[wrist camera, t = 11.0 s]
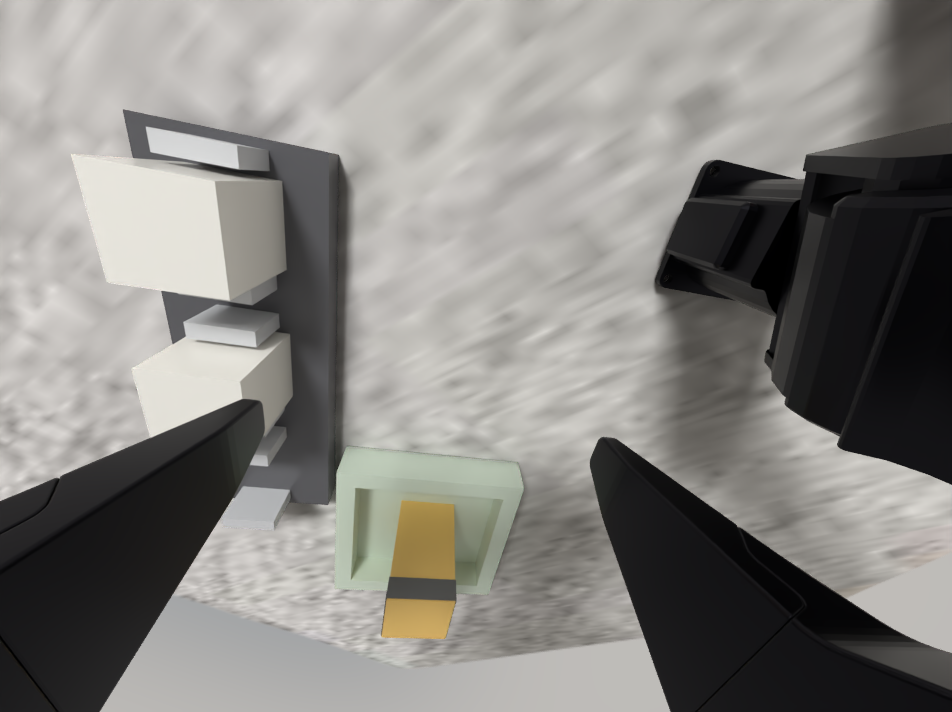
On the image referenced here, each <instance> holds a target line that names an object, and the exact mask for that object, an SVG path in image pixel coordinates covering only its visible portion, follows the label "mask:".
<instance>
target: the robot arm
mask: <svg viewBox="0 0 952 712" xmlns="http://www.w3.org/2000/svg"><path fill="white" fill-rule="evenodd" d="M712 167H714V169H715V170H714V173H713V175H712V176H710V170H711V168H712ZM803 171H806V176H805V179H795V178H791V177H787V176H783V175H778V174H774V173H770V172H766V171H762V170H758V169H754V168H750V167H746V166H742V165H738V164H733V163H729V162H725V161H721V160H712V161H708V162H706V163H705V164H704V165H703V167H702V168H701V170H700V173H699V175H698V177H697V180H696V182H695V185H694V187H693V189H692V192H691V194H690V197H689V199H688V201H686V203H685V205H684V207H683V210H682V212H681V214H680V217H679V219H678V222H677V224H676V227H675V229H674V231H673V234H672V236H671V239H670V241H669V243H668V246H667V252H666V254H665V257H664V259H663V262H662V264H661V266H660V269H659V271H658V274H657V276H656V283H657V284H658V285H660V286H662V287H664V288H669V289H675V290H680V291H686V292H691V293H697V294H702V295H708V296H713V297H719V298H724V299H730V300H735V301H738V302H741V303H743V304H746V305H748V306H750V307H753V308H755V309H758V310H760V311H762V312H765V313H767V314H769V315H772V316H774V317H776V320H775V325H774V330H773V334H772V339H771V344H770V349H769V350H767V351H766V354H765V359H764V362H765V363H766V364H767V366H768V367H769V368H770V369H771V372H772V381H773V383H774V384H775V385H776V387H777V388H778V389H779V391H780V392H781V393H782V395H784V396H785V397H786V398H785V405H786V406H787V407H788V408H789V409H790V410H792V411H793V412H795V413H796V414H798V415H799V416H801V417H802V418H804V419H806V420H807V421H809V422H811V423H813V424H815V425H817V426H819V427H821V428H823V429H825V430H827V431H829V432H832V433H834V434H836V435H838V436H840V438H839V440H838V443H837V445H838V447H839V448H840V449H842V450H845V451H849V452H853V453H857V454H862V455H866V456H870V457H874V458H879V459H883V460H887V461H890V462H893V463H896V464H899V465H902V466H905V467H908V468H910V469H913V470H916V471H919V472H922V473H925V474H928V475H930V476H933V477H935V478H937V479H940V480H942V481H944V482H947V483H949V484H951V485H952V123H950V124H943V125H937V126H932V127H927V128H923V129H918V130H914V131H909V132H905V133H900V134H896V135H891V136H887V137H882V138H878V139H874V140H869V141H865V142H860V143H856V144H851V145H847V146H842V147H838V148H833V149H829V150H825V151H820V152H816V153H811V154H807V155H806V158H805V163H804V168H803ZM667 275H669V278H668V279H667V281H665V282H664V278H665V276H667ZM264 432H265V421H264V411H263V404H262V402H261V401H259V400H252V399H241V400H238V401H236V402H233V403H231V404H229V405H226V406H224V407H222V408H219V409H217V410H215V411H212V412H210V413H208V414H205V415H203V416H201V417H198V418H196V419H193V420H191V421H189V422H186V423H184V424H182V425H179V426H177V427H175V428H172V429H170V430H168V431H165V432H163V433H161V434H158V435H156V436H153V437H151V438H149V439H146V440H144V441H142V442H139V443H137V444H135V445H132V446H130V447H128V448H125V449H123V450H121V451H118V452H116V453H113V454H111V455H109V456H106V457H104V458H102V459H99V460H97V461H95V462H92V463H90V464H88V465H85V466H83V467H80V468H78V469H76V470H73V471H71V472H69V473H66V474H64V475H62V476H61V477H60V479H59V478H54V479H52V480H50V481H47V482H45V483H43V484H40V485H38V486H36V487H33V488H31V489H29V490H26V491H24V492H21V493H19V494H17V495H14V496H12V497H9V498H7V499H4V500H2V501H0V712H100V710H101V709H102V707H103V705H104V704H105V702H106V701H107V699H108V697H109V696H110V694H111V693H112V691H113V689H114V688H115V686H116V684H117V683H118V681H119V680H120V678H121V677H122V675H123V673H124V672H125V670H126V668H127V667H128V665H129V664H130V662H131V660H132V659H133V657H134V656H135V654H136V652H137V651H138V649H139V648H140V646H141V644H142V643H143V641H144V639H145V638H146V636H147V635H148V633H149V632H150V630H151V628H152V627H153V625H154V624H155V622H156V620H157V619H158V617H159V616H160V614H161V612H162V611H163V609H164V608H165V606H166V604H167V603H168V601H169V599H170V598H171V596H172V595H173V593H174V592H175V590H176V588H177V587H178V585H179V583H180V582H181V580H182V579H183V577H184V575H185V574H186V572H187V571H188V569H189V567H190V566H191V564H192V563H193V561H194V559H195V558H196V556H197V555H198V553H199V551H200V550H201V548H202V547H203V545H204V543H205V542H206V540H207V539H208V537H209V535H210V534H211V532H212V531H213V529H214V527H215V526H216V524H217V523H218V521H219V519H220V518H221V516H222V515H223V513H224V511H225V510H226V508H227V507H228V505H229V503H230V502H231V500H232V498H233V497H234V495H235V493H236V492H237V490H238V488H239V486H240V484H241V482H242V480H243V478H244V476H245V474H246V471H247V469H248V467H249V465H250V463H251V461H252V459H253V457H254V455H255V453H256V451H257V448H258V446H259V444H260V442H261V440H262V438H263V436H264ZM590 469H591V473H592V477H593V481H594V486H595V490H596V494H597V498H598V502H599V506H600V510H601V514H602V518H603V521H604V524H605V527H606V530H607V532H608V535H609V538H610V541H611V544H612V547H613V550H614V552H615V555H616V558H617V561H618V564H619V567H620V569H621V572H622V575H623V578H624V581H625V584H626V586H627V589H628V592H629V595H630V598H631V601H632V604H633V606H634V609H635V612H636V615H637V618H638V621H639V623H640V626H641V629H642V632H643V635H644V638H645V640H646V643H647V646H648V649H649V652H650V655H651V657H652V660H653V663H654V666H655V669H656V672H657V675H658V677H659V680H660V683H661V686H662V689H663V692H664V694H665V697H666V700H667V703H668V706H669V709H670V711H671V712H952V653H950V652H946V651H943V650H940V649H937V648H934V647H931V646H929V645H926V644H923V643H921V642H918V641H916V640H914V639H912V638H910V637H908V636H905V635H904V634H902V633H900V632H898V631H896V630H894V629H892V628H891V627H889V626H887V625H886V624H884V623H883V622H881V621H879V620H878V619H876V618H875V617H873V616H872V615H870V614H869V613H867V612H865V611H864V610H862V609H861V608H859V607H858V606H856V605H854V604H853V603H852V602H850V601H848V600H847V599H845V598H844V597H842V596H841V595H839V594H838V593H836V592H835V591H833V590H832V589H830V588H829V587H827V586H826V585H824V584H822V583H821V582H819V581H818V580H816V579H815V578H813V577H812V576H810V575H809V574H807V573H806V572H804V571H803V570H801V569H800V568H798V567H797V566H795V565H794V564H792V563H791V562H789V561H788V560H786V559H785V558H783V557H782V556H780V555H779V554H777V553H776V552H774V551H773V550H771V549H770V548H769V547H767V546H766V545H764V544H763V543H761V542H760V541H759V540H757V539H756V538H754V537H753V536H751V535H750V534H749V533H747V532H746V531H745V530H743V529H742V528H740V527H737V525H736V524H735V523H733V522H732V521H730V520H729V519H728V518H726V517H725V516H723V515H722V514H721V513H719V512H718V511H716V510H715V509H714V508H712V507H711V506H709V505H708V504H707V503H705V502H704V501H702V500H701V499H700V498H698V497H697V496H695V495H694V494H693V493H691V492H690V491H688V490H687V489H686V488H684V487H683V486H681V485H680V484H679V483H677V482H676V481H674V480H673V479H672V478H670V477H669V476H667V475H666V474H665V473H663V472H662V471H660V470H659V469H658V468H656V467H655V466H653V465H652V464H651V463H649V462H648V461H646V460H645V459H644V458H642V457H641V456H639V455H638V454H637V453H635V452H634V451H632V450H631V449H630V448H628V447H627V446H625V445H624V444H623V443H621V442H620V441H618V440H617V439H615V438H608V437H601V438H600V439H599V440H598V442H597V444H596V447H595V449H594V451H593V454H592V456H591V459H590Z"/></svg>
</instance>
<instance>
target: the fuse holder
mask: <svg viewBox="0 0 952 712" xmlns="http://www.w3.org/2000/svg"><path fill="white" fill-rule="evenodd" d="M123 113H124V118H125V123H126V128H127V132H128V137H129V142H130V146H131V151H132V156H133V158H138V159H152V160H166V161H180V162H188V163H193V164H198V165H203V166H208V167H213V168H218V169H223V170H228V171H234V172H239V173H244V174H249V175H254V176H259V177H264V178H269V179H274V180H280V181H282V187H283V207H284V227H285V246H286V266H287V270H285V271H283V272H282V273H280V274H278V275H276V276H274V277H272V278H271V279H269V280H267V281H265V282H263V283H261V284H259V285H258V286H256V287H254V288H252V289H250V290H248V291H247V292H245V293H243V294H241V295H239V296H237V297H236V298H234V299H232V300H230V301H229V300H222V299H215V298H208V297H201V296H195V295H188V294H181V293H174V292H167V291H161V292H162V296H163V301H164V306H165V310H166V315H167V320H168V324H169V329H170V334H171V339H172V343H173V344H174V343H176V342H178V341H179V340H181V339H183V338H184V337H186V338H188V339H196V340H203V341H211V342H219V343H226V344H234V345H242V346H249V347H258V346H259V345H260V344H261V343H262V342H263V341H265V340H266V339H267V338H268V337H269V336H270V335H272V334H273V333H274V332H280V333H287V334H290V345H291V365H292V385H293V396H292V398H291V399H290V401H289V402H288V403H287V405H286V406H285V407H284V409H283V410H282V412H281V413H280V414H279V416H278V417H277V418H276V420H275V421H274V422H273V424H272V425H271V427H270V428H269V429H268V431H267V432H266V433H265V435H264V436H263V438H262V440H261V442H260V444H259V446H258V448H257V451H256V453H255V455H254V457H253V459H252V461H251V463H250V465H249V467H248V469H247V471H246V474H245V476H244V478H243V480H242V482H241V484H240V486H239V488H238V490H237V492H236V493H235V495H234V497H233V498H235V499H234V500H233V502H232V503H231V505H230V506H229V508H228V509H227V511H226V512H225V514H224V515H223V516H222V518H221V520H222V525H223V527H226V528H242V529H259V530H275V528H276V526H277V524H278V522H279V520H280V518H281V516H282V514H283V512H284V510H285V508H286V506H287V505H288V503H289V502H295V503H308V504H322V505H328V504H329V501H330V499H331V496H332V493H333V491H334V483H335V404H336V326H337V247H338V169H339V155H337V154H332V153H328V152H323V151H318V150H314V149H309V148H304V147H299V146H295V145H290V144H285V143H280V142H276V141H271V140H266V139H261V138H257V137H252V136H247V135H242V134H238V133H233V132H228V131H223V130H219V129H214V128H209V127H204V126H200V125H195V124H190V123H185V122H181V121H176V120H171V119H166V118H162V117H157V116H152V115H147V114H142V113H138V112H133V111H128V110H123Z"/></svg>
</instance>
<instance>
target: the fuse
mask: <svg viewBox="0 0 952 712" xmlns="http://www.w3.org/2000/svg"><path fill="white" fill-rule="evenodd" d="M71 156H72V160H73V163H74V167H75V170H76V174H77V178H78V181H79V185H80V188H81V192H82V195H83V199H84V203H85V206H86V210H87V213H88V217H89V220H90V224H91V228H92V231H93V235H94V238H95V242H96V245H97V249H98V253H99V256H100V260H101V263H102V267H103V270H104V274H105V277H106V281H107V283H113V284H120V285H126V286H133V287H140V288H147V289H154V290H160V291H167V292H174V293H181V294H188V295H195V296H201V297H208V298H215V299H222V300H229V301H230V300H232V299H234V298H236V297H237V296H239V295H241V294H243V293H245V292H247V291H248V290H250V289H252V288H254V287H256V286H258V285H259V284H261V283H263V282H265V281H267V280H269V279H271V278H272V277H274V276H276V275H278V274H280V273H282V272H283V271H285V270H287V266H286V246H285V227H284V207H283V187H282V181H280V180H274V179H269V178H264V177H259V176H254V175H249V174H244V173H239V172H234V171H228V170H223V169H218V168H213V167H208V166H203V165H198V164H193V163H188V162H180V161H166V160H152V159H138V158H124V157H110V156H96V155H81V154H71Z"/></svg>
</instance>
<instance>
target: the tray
mask: <svg viewBox="0 0 952 712" xmlns="http://www.w3.org/2000/svg"><path fill="white" fill-rule="evenodd" d="M523 491H524V486H523V482H522V477H521V473H520V469H519V465H518V462H508V461H498V460H487V459H477V458H467V457H456V456H446V455H435V454H425V453H415V452H404V451H394V450H384V449H373V448H363V447H352V446H347V447H346V449H345V452H344V455H343V457H342V460H341V462H340V465H339V467H338V470H337V473H336V533H335V589H351V590H376V591H387V588H388V581H389V577H390V574H391V567H392V561H393V554H394V547H395V541H396V534H397V528H398V521H399V514H400V508H401V501H402V500H405V501H418V502H430V503H443V504H454V530H455V580H456V594H477V595H488V594H489V591H490V588H491V585H492V582H493V579H494V576H495V573H496V570H497V567H498V564H499V561H500V558H501V556H502V553H503V550H504V547H505V544H506V541H507V538H508V535H509V532H510V529H511V526H512V523H513V520H514V517H515V514H516V511H517V509H518V506H519V503H520V500H521V497H522V494H523Z"/></svg>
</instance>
